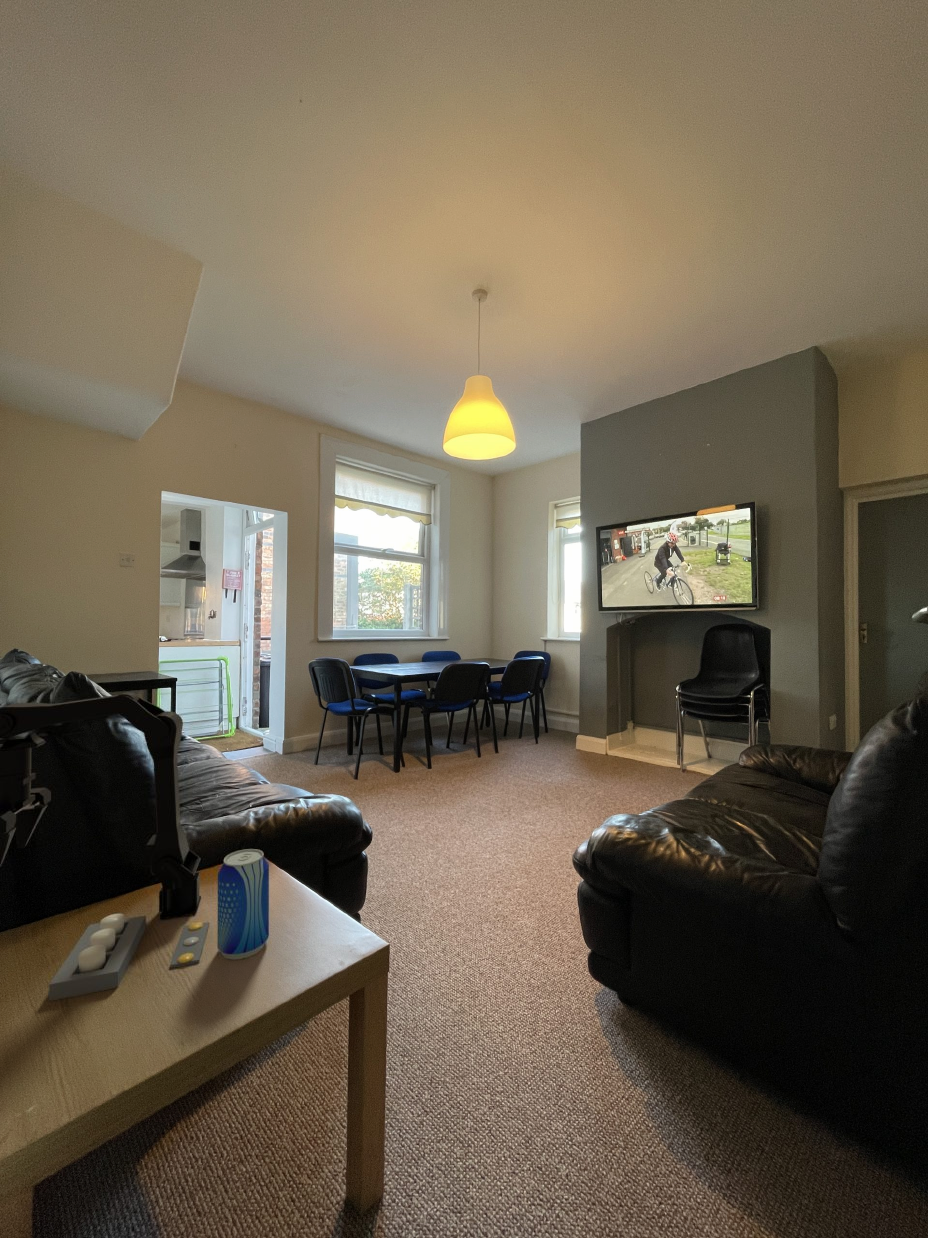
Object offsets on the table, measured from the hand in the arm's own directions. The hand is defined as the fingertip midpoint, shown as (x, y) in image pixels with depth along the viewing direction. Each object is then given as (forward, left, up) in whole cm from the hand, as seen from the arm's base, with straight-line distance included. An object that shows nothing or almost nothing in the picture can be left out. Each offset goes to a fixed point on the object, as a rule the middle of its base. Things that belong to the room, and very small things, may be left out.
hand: (9, 857), depth 95 cm
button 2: (-19, +9, -13) cm, 24 cm away
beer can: (-41, +18, -15) cm, 48 cm away
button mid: (-19, +14, -13) cm, 27 cm away
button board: (-19, +14, -15) cm, 28 cm away
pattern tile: (-32, +14, -15) cm, 38 cm away
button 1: (-19, +19, -13) cm, 30 cm away
